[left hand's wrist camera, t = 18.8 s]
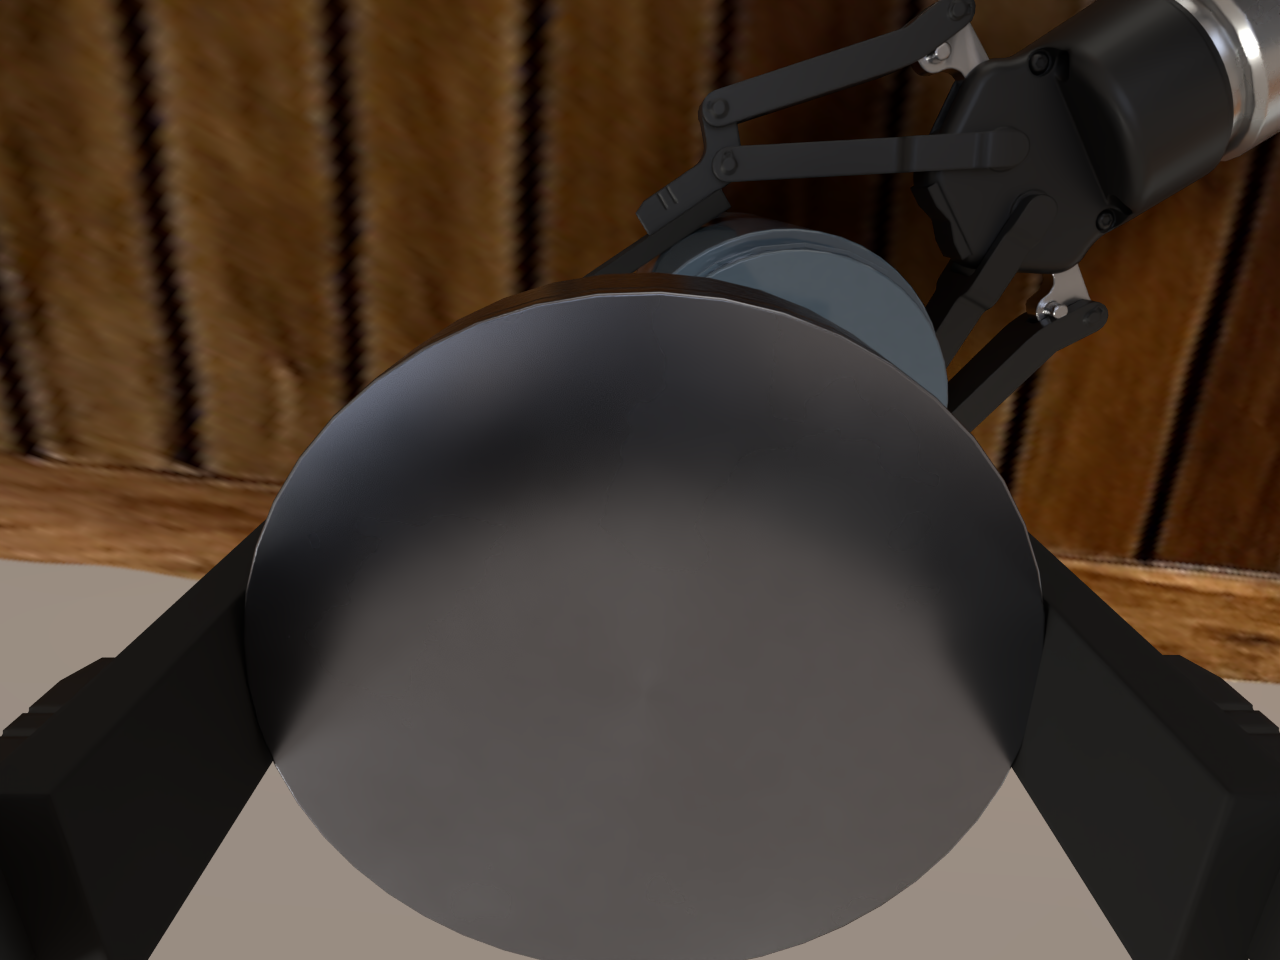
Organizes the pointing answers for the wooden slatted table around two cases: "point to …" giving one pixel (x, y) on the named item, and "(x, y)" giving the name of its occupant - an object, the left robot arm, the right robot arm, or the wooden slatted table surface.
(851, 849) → the lid
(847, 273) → the jar
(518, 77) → the wooden slatted table surface
